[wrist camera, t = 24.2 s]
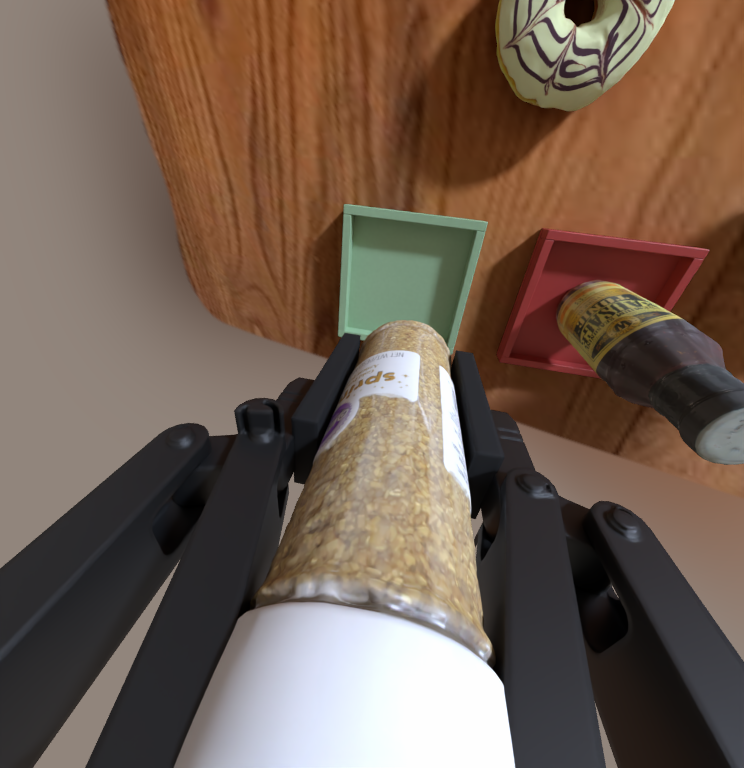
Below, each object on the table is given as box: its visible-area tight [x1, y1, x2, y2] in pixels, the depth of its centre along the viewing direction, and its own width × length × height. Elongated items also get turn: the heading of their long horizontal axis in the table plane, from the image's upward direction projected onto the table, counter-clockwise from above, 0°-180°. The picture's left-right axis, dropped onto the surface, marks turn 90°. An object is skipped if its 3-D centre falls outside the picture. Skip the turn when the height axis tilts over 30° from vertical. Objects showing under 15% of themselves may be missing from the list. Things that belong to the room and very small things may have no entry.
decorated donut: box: [495, 0, 675, 111], centre depth 20 cm, size 10×11×4 cm
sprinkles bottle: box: [174, 320, 515, 768], centre depth 9 cm, size 5×5×14 cm
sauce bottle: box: [556, 280, 744, 465], centre depth 23 cm, size 6×6×20 cm
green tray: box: [338, 204, 488, 355], centre depth 32 cm, size 14×14×2 cm
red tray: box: [496, 228, 709, 378], centre depth 31 cm, size 14×14×2 cm
